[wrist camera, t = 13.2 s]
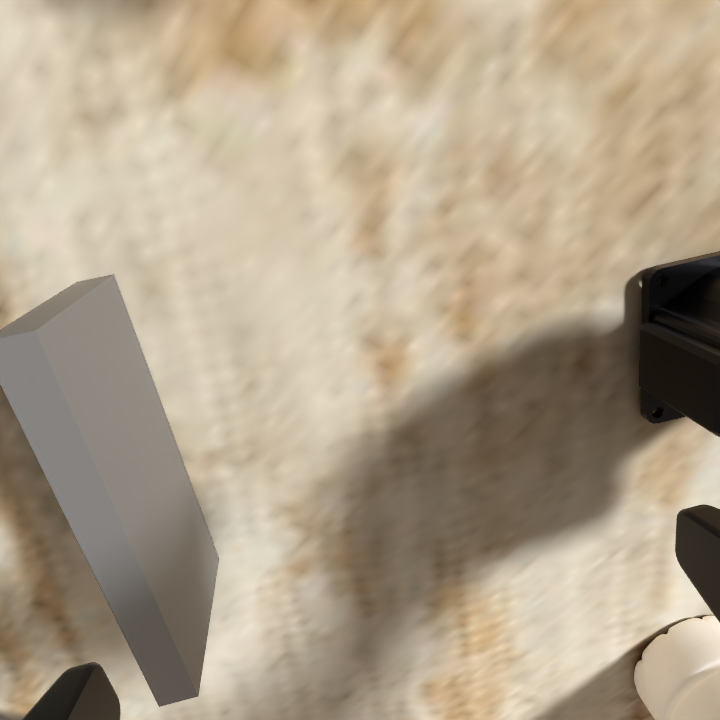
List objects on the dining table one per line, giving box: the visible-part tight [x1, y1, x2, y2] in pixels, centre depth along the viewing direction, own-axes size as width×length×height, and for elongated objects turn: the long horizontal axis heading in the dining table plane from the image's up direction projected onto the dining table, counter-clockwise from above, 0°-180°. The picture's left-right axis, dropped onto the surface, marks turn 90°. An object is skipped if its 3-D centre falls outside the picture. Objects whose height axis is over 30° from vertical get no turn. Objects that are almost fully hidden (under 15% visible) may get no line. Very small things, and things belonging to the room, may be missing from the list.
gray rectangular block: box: [0, 274, 219, 707], centre depth 17 cm, size 1×12×6 cm, turn 10°
